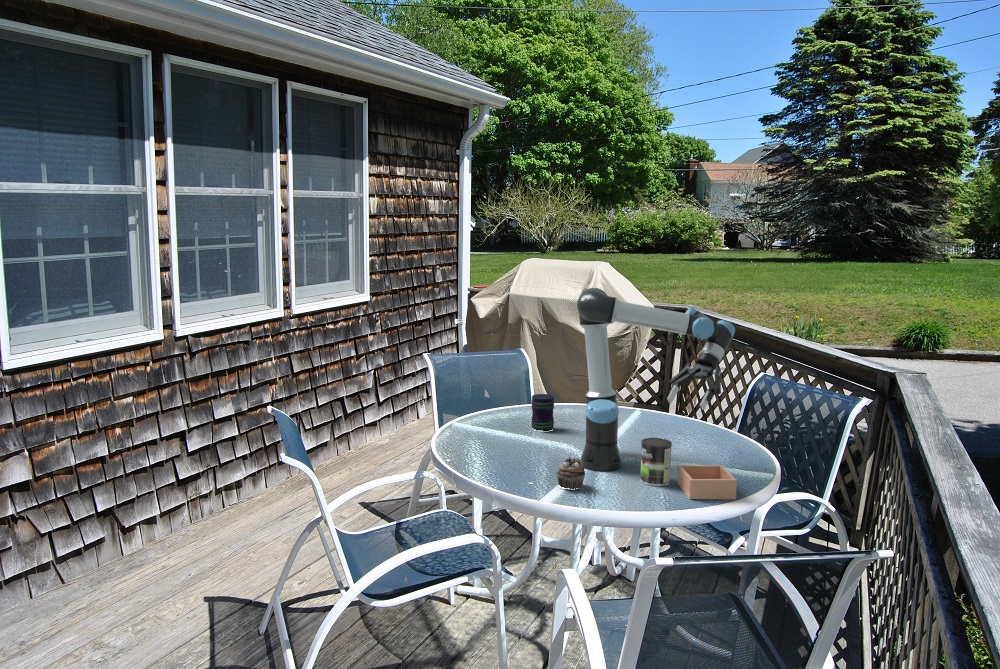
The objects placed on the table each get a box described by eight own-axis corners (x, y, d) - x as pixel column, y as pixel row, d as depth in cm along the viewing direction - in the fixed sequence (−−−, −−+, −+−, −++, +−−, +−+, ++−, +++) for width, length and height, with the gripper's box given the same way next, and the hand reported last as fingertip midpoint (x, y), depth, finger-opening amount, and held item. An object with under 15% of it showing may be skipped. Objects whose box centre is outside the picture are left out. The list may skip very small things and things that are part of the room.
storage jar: (527, 430, 309) (527, 397, 307) (537, 425, 317) (538, 393, 315) (547, 433, 304) (547, 399, 302) (557, 428, 312) (558, 395, 310)
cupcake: (582, 481, 244) (583, 453, 243) (586, 491, 235) (587, 462, 233) (554, 481, 244) (555, 453, 243) (557, 491, 234) (558, 462, 233)
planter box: (689, 499, 228) (690, 480, 227) (677, 483, 242) (677, 465, 242) (735, 499, 228) (736, 480, 227) (720, 483, 243) (721, 465, 242)
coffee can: (650, 487, 238) (651, 447, 236) (634, 478, 248) (635, 439, 246) (676, 484, 242) (678, 444, 240) (659, 474, 251) (660, 436, 250)
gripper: (744, 368, 252) (720, 416, 244) (684, 359, 270) (660, 404, 263) (737, 355, 248) (712, 404, 240) (677, 347, 266) (651, 392, 258)
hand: (685, 404), depth 251 cm, fingers open, 13 cm apart
